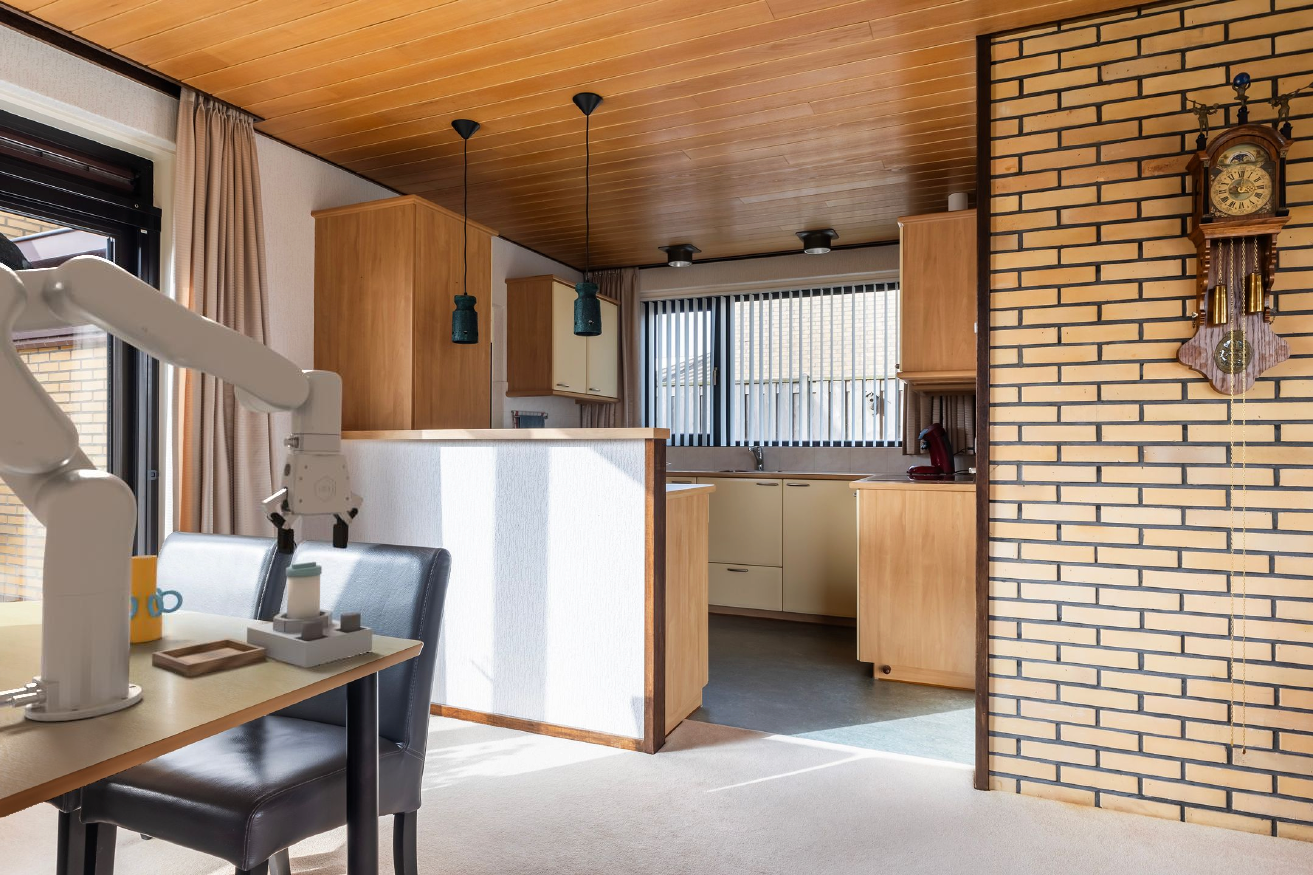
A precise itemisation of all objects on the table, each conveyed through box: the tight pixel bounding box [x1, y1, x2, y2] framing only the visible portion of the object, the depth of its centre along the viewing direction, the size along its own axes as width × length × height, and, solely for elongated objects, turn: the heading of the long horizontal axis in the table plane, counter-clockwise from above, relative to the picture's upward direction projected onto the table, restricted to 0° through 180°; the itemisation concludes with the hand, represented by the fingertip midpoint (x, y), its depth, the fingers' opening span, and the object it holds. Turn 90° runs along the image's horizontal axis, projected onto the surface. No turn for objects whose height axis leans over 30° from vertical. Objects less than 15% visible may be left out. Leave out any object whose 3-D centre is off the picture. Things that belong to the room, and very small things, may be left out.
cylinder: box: [130, 554, 184, 644], centre depth 137 cm, size 12×10×15 cm
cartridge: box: [285, 561, 323, 619], centre depth 131 cm, size 6×6×11 cm
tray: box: [151, 637, 267, 677], centre depth 123 cm, size 12×12×2 cm
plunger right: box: [339, 612, 362, 633], centre depth 129 cm, size 3×3×4 cm
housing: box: [246, 608, 373, 669], centre depth 129 cm, size 12×18×6 cm, turn 56°
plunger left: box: [301, 620, 323, 642], centre depth 123 cm, size 3×3×4 cm
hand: (313, 550), depth 123 cm, fingers open, 9 cm apart
